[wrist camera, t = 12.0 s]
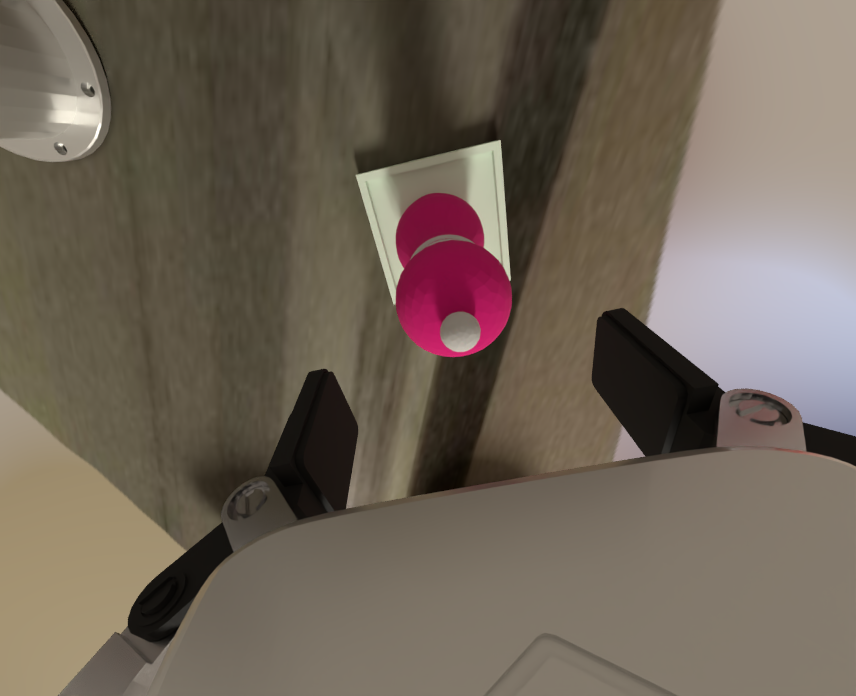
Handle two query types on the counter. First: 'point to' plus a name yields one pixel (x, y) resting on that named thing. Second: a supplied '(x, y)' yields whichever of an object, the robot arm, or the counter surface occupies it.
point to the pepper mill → (449, 278)
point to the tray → (443, 173)
